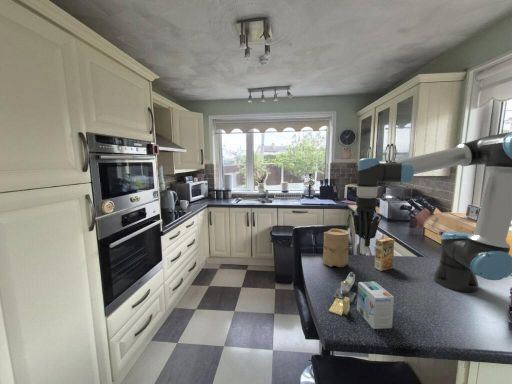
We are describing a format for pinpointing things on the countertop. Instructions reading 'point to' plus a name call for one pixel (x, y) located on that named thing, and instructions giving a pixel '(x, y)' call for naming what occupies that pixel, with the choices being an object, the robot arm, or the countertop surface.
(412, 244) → the countertop surface
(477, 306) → the countertop surface
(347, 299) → the keeper
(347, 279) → the latch bar
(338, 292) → the plate
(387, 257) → the candy box
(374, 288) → the light bulb box
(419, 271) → the countertop surface
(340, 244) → the container
